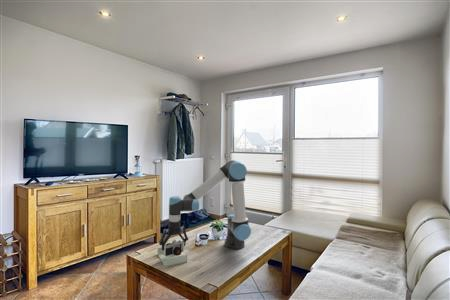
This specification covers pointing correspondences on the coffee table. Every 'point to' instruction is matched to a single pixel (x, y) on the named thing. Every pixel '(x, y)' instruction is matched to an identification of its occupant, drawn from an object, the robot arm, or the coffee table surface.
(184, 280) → the coffee table surface
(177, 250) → the camera
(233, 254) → the coffee table surface
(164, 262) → the u cradle
